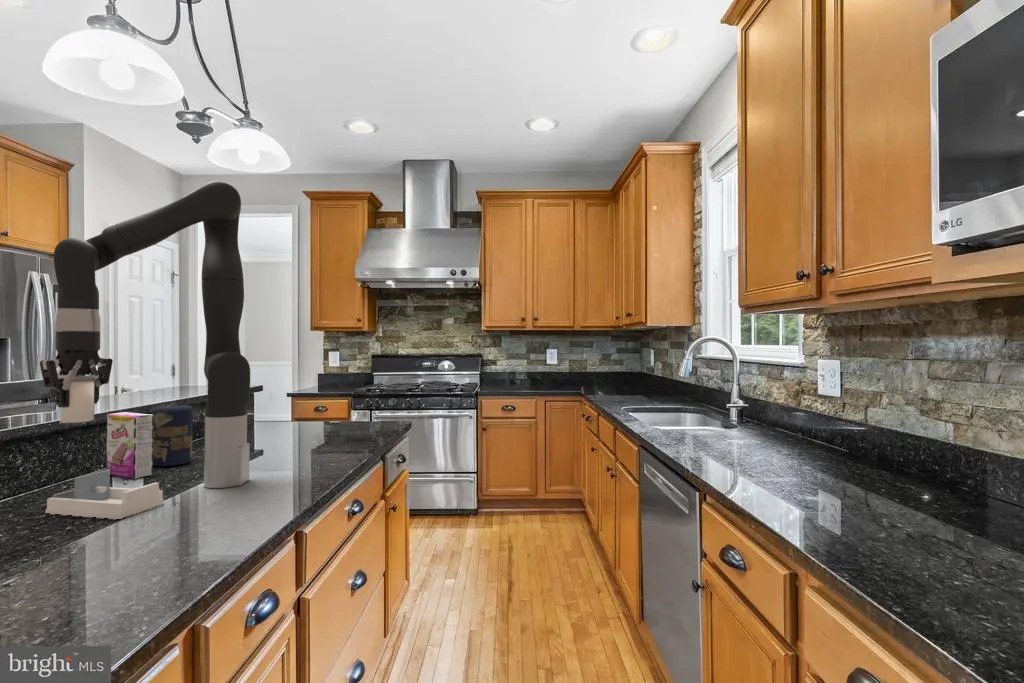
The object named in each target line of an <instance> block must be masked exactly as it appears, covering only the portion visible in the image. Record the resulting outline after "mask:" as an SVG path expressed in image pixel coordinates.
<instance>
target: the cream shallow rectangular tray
mask: <svg viewBox="0 0 1024 683" xmlns="http://www.w3.org/2000/svg"><path fill="white" fill-rule="evenodd" d="M163 494H164V491H163V490H160V482H151V483H149V484H146V485H143V486H139V487H136V488H127V487H113V486H110V495H109V498H106V499H103V500H99V501H96V500H83V499H74V488H73V489H69V490H66V491H62V492H57V493H55V494H54V493H53V494H52V497H49V498H47V499H46V508H45V514H46V513H50V514H49V515H55V514H59V515H58V516H67V515H72V516H71V517H79V516H82V518H92V517H96V518H95V519H104V518H108V519H107V520H116V519H121V520H123V519H122V518H124V517H126V518H128V517H127V516H129V517H131V516H130V515H132V516H134V515H133V514H135V515H137V514H140V513H143V512H145V511H144V510H146V511H148V510H147V509H149V510H151V509H154V508H156V507H155V506H157V507H160V506H163V505H165V502H164V497H163V496H164V495H163ZM162 504H163V505H162ZM159 505H160V506H159ZM153 507H154V508H153ZM150 508H151V509H150ZM142 511H143V512H142ZM139 512H140V513H139ZM136 513H137V514H136ZM60 514H61V515H60ZM124 519H125V518H124Z"/></svg>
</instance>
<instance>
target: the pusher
mask: <svg viewBox="0 0 1024 683" xmlns="http://www.w3.org/2000/svg"><path fill="white" fill-rule="evenodd" d="M110 480H111V476H110V470H106V469H104V470H100V471H97V472H93V473H89V474H84V475H81V476H77V477H74V488H73V489H74V499H83V500H96V501H99V500H103V499H106V498H109V495H110V487H111V484H110V483H111V481H110Z"/></svg>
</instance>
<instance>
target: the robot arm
mask: <svg viewBox="0 0 1024 683" xmlns="http://www.w3.org/2000/svg"><path fill="white" fill-rule="evenodd" d="M241 210H242V199H241V196H240V193H239V191H238V190H237V189H236V187H234V185H232V184H230V183H228V182H226V181H221V180H213V181H210V182H209V181H208V182H207V183H205V184H204V185H202V186H200V187H198V188H197V189H195V190H193V191H192V192H190V193H188V194H186V195H184V196H182V197H181V198H179V199H177V200H174V201H172V202H170V203H168V204H166V205H163V206H161V207H158V208H156V209H153V210H151V211H147V212H146V213H143V214H140V215H137V216H134V217H132V218H129V219H126V220H124V221H121V222H119V223H115V224H112V225H110V226H108V227H105V228H104V229H103V230H102V232H101V233H100V234H98V235H95V236H93V237H91V238H88V239H85V240H84V239H81V238H77V237H68V238H64V239H62V240H61V241H59V242H58V243H57V245H56V246H55V248H54V251H53V267H54V272H55V277H56V279H55V280H56V283H57V296H56V300H57V306H56V307H57V310H56V315H55V316H56V317H55V350H56V352H57V355H56V356H55V358H52V359H44V360H43V359H42V360H40V361H39V367H40V371H41V376H42V380H43V385H44V386H43V387H44V388H47V389H48V388H49V389H53V390H54V392H55V405H56V406H57V407H58V408H61V407H62V408H64V407H69V390H67V389H68V388H69V385H70V383H71V382H70V381H71V380H73V379H74V376H76V375H95V380H94V405H95V404H98V402H99V400H100V387H101V386H103V385H107V384H109V381H110V377H111V372H112V368H113V367H112V366H113V362H114V361H113V359H112V358H103V357H100V355H99V351H100V350H101V316H100V292H99V288H98V286H97V284H96V272H97V271H99V270H101V269H103V268H106V267H108V266H109V265H112V264H113V263H115V262H117V261H118V260H120V259H122V258H123V257H126V256H129V255H132V254H134V253H137V252H140V251H142V250H145V249H147V248H150V247H153V246H155V245H157V244H159V243H161V242H164V240H166V239H168V238H169V237H172V236H173V235H175V234H176V233H179V232H180V231H182V230H184V229H186V228H188V227H191V226H193V225H195V224H199V223H201V222H203V224H202V225H203V231H204V238H205V239H204V250H203V256H202V266H201V295H202V307H203V317H204V322H205V330H206V331H205V332H206V334H205V335H206V341H205V342H206V344H205V353H204V354H205V355H204V365H203V373H204V377H205V378H206V380H207V396H206V403H205V406H204V449H203V450H204V456H203V457H204V458H203V462H204V465H203V467H204V468H203V471H204V472H203V486H204V488H208V489H223V488H231V487H240V486H242V485H244V484H245V483H246V482H247V481H249V480H250V442H247V441H248V440H247V439H248V437H247V436H248V434H247V433H248V406H249V403H250V398H251V396H250V393H251V368H250V367H251V366H250V363H249V361H248V360H247V358H246V357H245V356H244V355H242V353H241V346H240V336H239V335H240V324H241V320H242V315H243V310H244V306H245V305H244V303H245V285H244V284H245V282H244V281H245V280H244V270H243V264H242V259H241V254H240V250H239V223H240V215H241V214H240V213H241ZM58 367H59V370H58V371H57V368H58ZM62 379H64V381H63V382H62Z"/></svg>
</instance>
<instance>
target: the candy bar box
mask: <svg viewBox="0 0 1024 683" xmlns="http://www.w3.org/2000/svg"><path fill="white" fill-rule="evenodd" d="M153 420H154V414H148V413H137V412H131V411H130V412H127V411H124V412H115V413H107V414H106V465H105V466H106V469H105V470H110V475H112V477H116V476H119V477H118V478H124V477H125V479H130V478H131V480H132V479H133V480H137V478H138V479H141V478H140V477H142V478H145V476H146V477H150V476H152V475H153ZM149 475H150V476H149Z"/></svg>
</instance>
